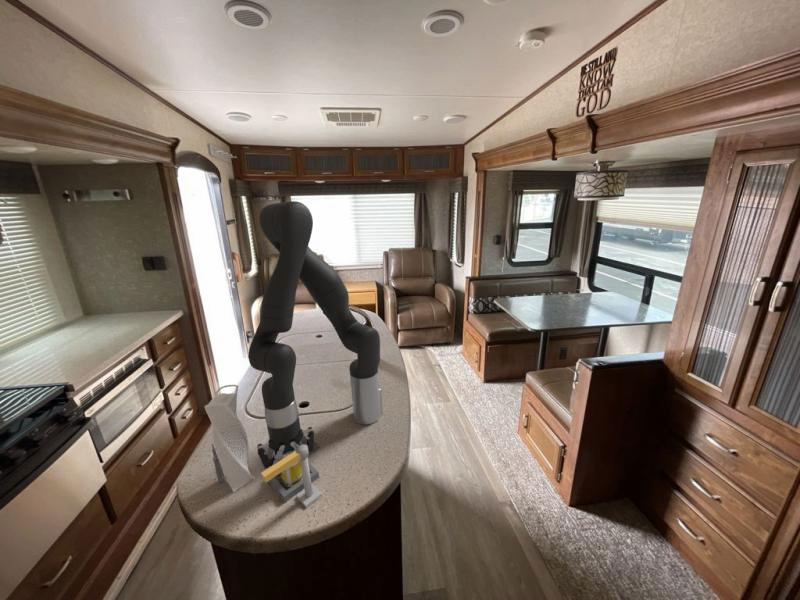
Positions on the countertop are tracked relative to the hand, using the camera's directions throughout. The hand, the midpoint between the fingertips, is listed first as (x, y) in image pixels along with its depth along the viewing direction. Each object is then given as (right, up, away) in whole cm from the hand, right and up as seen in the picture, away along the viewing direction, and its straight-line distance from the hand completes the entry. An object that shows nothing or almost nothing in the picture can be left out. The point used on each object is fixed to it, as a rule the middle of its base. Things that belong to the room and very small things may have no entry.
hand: (291, 469), depth 82 cm
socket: (+2, -3, -1) cm, 4 cm away
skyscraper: (-14, -4, +1) cm, 15 cm away
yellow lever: (+3, +7, -11) cm, 13 cm away
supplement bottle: (0, -3, +1) cm, 3 cm away
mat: (-4, 0, +11) cm, 12 cm away
